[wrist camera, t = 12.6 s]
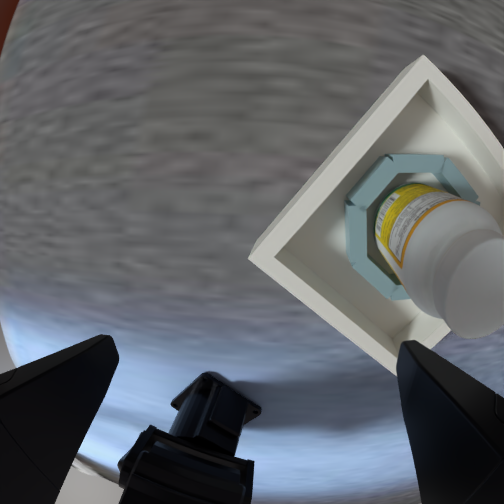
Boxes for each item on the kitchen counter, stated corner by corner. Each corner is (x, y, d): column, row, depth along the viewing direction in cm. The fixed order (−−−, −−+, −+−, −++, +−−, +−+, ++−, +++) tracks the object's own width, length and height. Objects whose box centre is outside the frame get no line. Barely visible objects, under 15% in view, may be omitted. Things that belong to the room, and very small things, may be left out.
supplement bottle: (361, 194, 17) (418, 241, 8) (437, 172, 16) (537, 200, 7) (380, 275, 18) (429, 372, 9) (451, 252, 17) (532, 325, 8)
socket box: (387, 347, 21) (397, 376, 18) (256, 239, 20) (247, 258, 17) (515, 207, 16) (543, 218, 12) (403, 68, 15) (423, 54, 11)
